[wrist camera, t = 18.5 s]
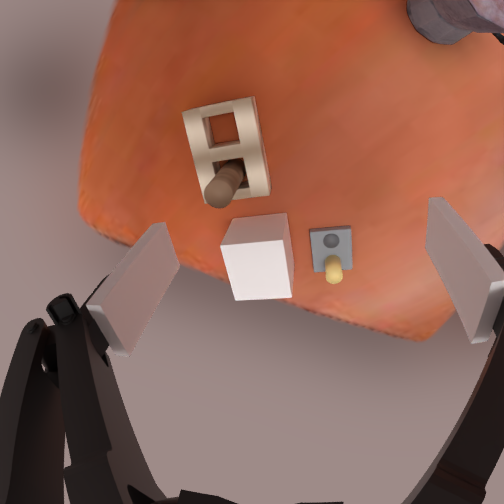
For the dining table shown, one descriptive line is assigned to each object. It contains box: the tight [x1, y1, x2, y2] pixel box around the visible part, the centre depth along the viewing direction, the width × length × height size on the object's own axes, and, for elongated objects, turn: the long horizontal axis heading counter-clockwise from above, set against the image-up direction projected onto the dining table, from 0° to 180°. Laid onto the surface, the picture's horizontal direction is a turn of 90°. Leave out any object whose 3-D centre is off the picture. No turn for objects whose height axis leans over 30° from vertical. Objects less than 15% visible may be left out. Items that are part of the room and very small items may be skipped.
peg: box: [204, 158, 247, 208], centre depth 39 cm, size 3×3×10 cm
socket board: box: [182, 96, 272, 204], centre depth 40 cm, size 13×9×3 cm
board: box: [310, 226, 352, 284], centre depth 45 cm, size 7×6×5 cm
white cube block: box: [220, 213, 294, 300], centre depth 45 cm, size 9×8×8 cm
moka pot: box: [407, 0, 504, 45], centre depth 18 cm, size 10×15×20 cm, turn 65°
